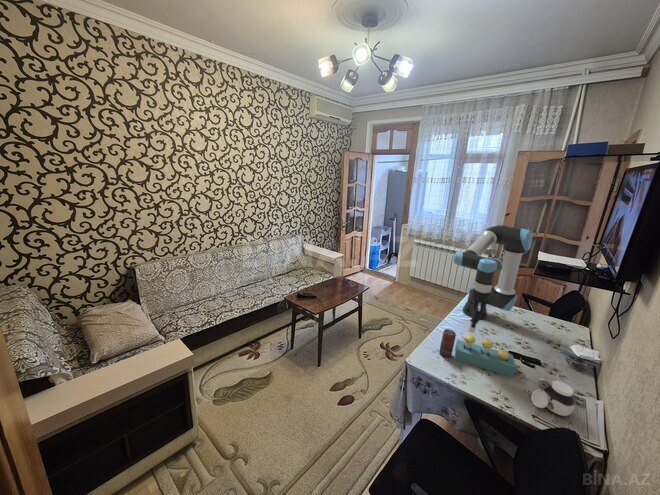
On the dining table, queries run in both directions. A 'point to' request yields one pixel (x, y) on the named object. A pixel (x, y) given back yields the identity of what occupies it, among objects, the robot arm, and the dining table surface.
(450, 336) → the can
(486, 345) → the plunger mid
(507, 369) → the mount
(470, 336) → the plunger
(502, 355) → the plunger
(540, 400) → the spread jar
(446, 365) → the dining table surface
